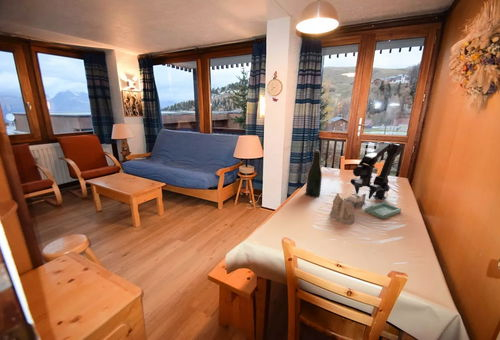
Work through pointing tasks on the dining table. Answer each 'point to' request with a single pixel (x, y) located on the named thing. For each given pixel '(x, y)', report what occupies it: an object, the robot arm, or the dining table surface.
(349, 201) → the bay
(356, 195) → the teal striped block
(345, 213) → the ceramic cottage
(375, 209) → the tray
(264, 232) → the dining table surface
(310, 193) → the beer bottle
